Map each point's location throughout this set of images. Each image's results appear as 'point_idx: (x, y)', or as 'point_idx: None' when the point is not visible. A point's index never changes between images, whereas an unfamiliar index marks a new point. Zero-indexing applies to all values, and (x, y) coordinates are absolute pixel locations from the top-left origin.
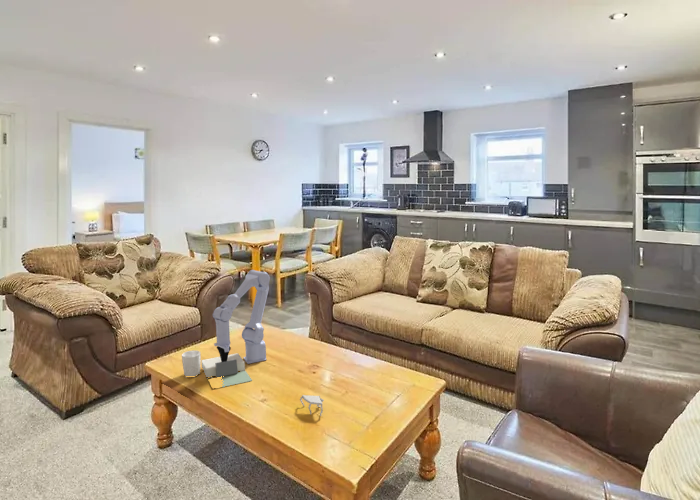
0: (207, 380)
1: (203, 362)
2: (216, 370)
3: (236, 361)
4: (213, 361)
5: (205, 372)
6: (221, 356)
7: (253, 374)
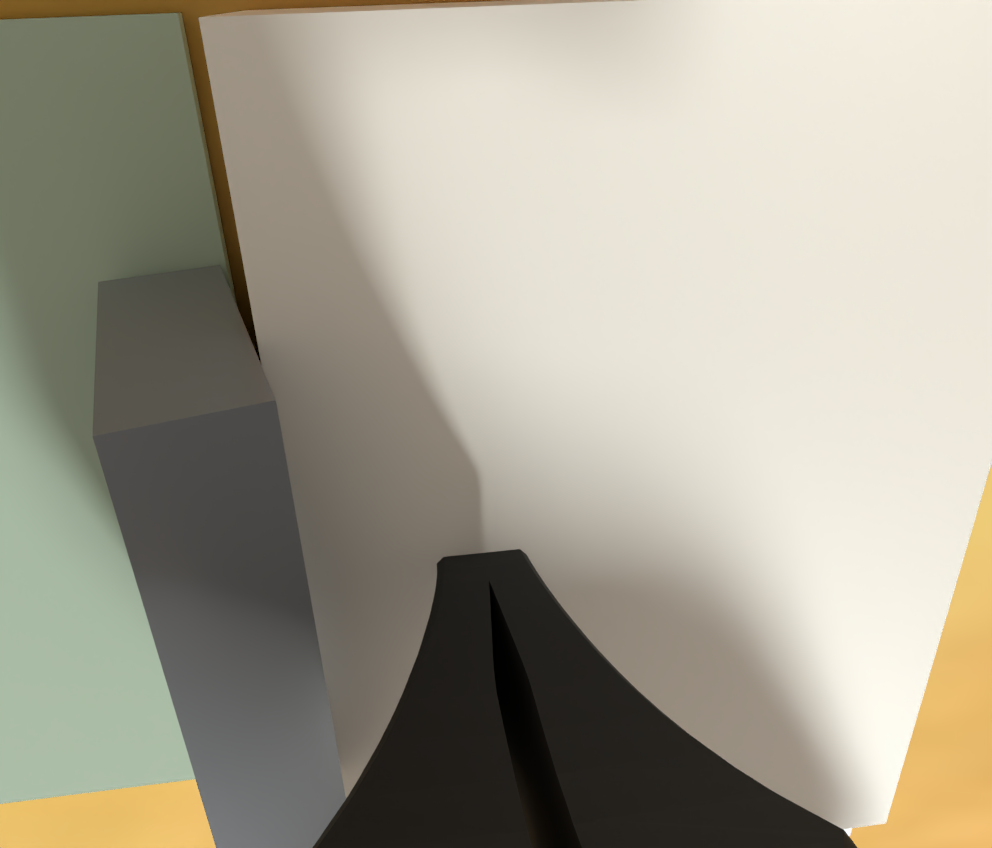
0: (111, 8)
1: (898, 20)
2: (147, 331)
3: None
4: (775, 332)
5: (416, 5)
6: (403, 707)
7: (141, 836)
